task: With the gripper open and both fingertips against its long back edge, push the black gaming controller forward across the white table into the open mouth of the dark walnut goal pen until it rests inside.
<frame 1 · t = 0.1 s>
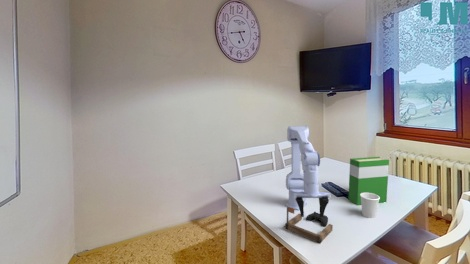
hand: (311, 216, 92), 11 cm above the table, tool pointing down, fingers open, 7 cm apart
dixie cup: (368, 215, 112), on the table
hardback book: (367, 201, 128), on the table
gaming controller: (318, 222, 108), on the table
goal pen: (309, 228, 102), on the table
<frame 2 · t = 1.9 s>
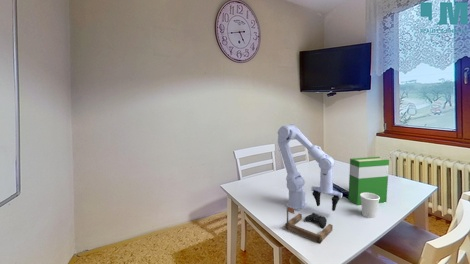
hand: (325, 207, 114), 4 cm above the table, tool pointing down, fingers open, 7 cm apart
gaming controller: (316, 223, 107), on the table
everything else where it was.
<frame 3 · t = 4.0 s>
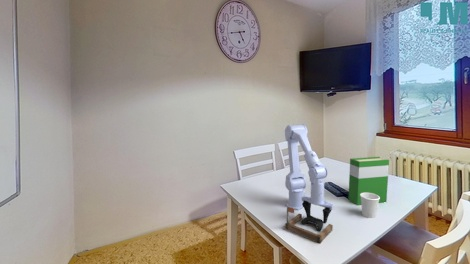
hand: (316, 219, 107), 1 cm above the table, tool pointing down
gaming controller: (313, 225, 105), on the table, touching gripper
everything else where it was.
when the fingers open (1 cm above the table, at t = 5.4 s): gaming controller stays where it is, on the table.
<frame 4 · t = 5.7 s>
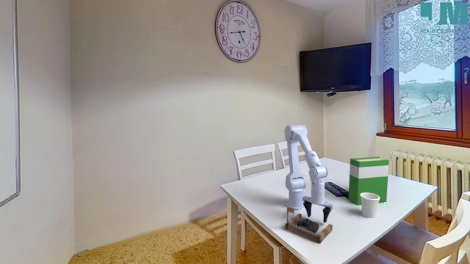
hand: (317, 219, 107), 1 cm above the table, tool pointing down, fingers open, 7 cm apart
gaming controller: (308, 229, 103), on the table
everything else where it was.
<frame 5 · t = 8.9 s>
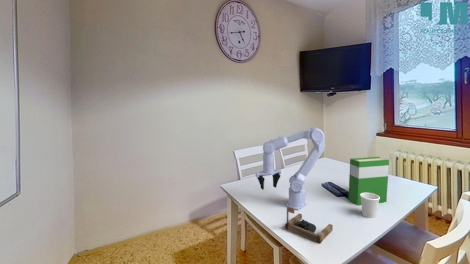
hand: (268, 187, 126), 9 cm above the table, tool pointing down, fingers open, 7 cm apart
gaming controller: (305, 230, 101), on the table
everything else where it was.
at the end: gaming controller inside the target area on the goal pen (1.0 cm from its centre), point -0.5 cm above the goal pen's base; the gripper is holding nothing; gaming controller tilted 0° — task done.
